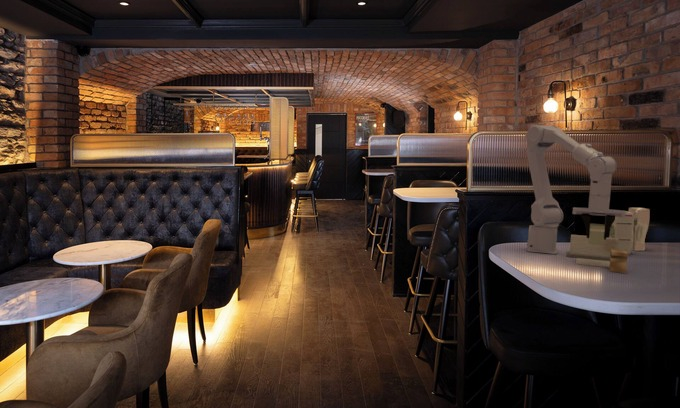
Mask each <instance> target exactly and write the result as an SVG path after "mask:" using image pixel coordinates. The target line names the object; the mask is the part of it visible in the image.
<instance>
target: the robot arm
mask: <svg viewBox="0 0 680 408" xmlns="http://www.w3.org/2000/svg"><path fill="white" fill-rule="evenodd" d="M525 139H526V143H527V144H526V156H527V161H528V167H529V172H530V177H531V182H532V187H533V192H534V197H535V201H534V202H533V203H532V204H531V206H530V208H531V213H530V219H531V222H532V223H533V225H532V224H531V225H529V227H528V234H527V235H528V236H527V241H526V246H527V248H526V249H527V250H526V251H527V252H531V253H543V254H551V255H557V254H558V248H557V239H558V237H557V236H558V227H560V224H561V223H562V222H563V220H564V212H563V210H562V208H561V207H560V204H559V201H557V200H556V199H555V198H554V197H553V193H552V188H551V183H550V178H549V177H550V176H549V174H548V168H547V164H546V163H547V162H546V158H545V153H546V152H547V151H548V150H549V149H550V148H552V146H553V145H555V144H556V145H559V146H560V147H562V148H564V149H566V150H567V151H569V152H571V153H572V158H573V159H574V160H575V161H577V162H578V163H580V164H581V165H583V166H584V167H586V168H587V169H586V170H587V171H588V173H589V179H590V183H589V184H590V185H589V195H588V196H589V197H588V207H572V215H581V218H582V221H583V225H584V228H585V232H586V233H585V234H586V236H587V238H589V227H590V224H591V216H598V217H599V216H601V217H602V216H603V217H605V218H604V226H605V232H604V239H605V240H606V238H608V237H607V236H608V233H609V232H610V227H611V225H612V224H613V222H614V221H615V217H623V218H625V211H626V210H621V209H610V202H611V191H612V190H611V189H612V177H613V174H614V173H615V172H616V170H617V161H616V160H615V158H614V157H612V156H609V155H608V156H607V155H604V153H603V152H602V151H598V150H597V149H594V148H593V147H592V146H593V145H592V144H591V143H579V142H577V141H576V140H575V139H573V138H572V137H571V136H570V135H568V134H567V133H565V132H564V131H563V130H562V128H560V127H558V126H556V125H555V124H554V125H551V124H550V125H544V124H543V125H542V124H533V125H531V126H530V127H528V130H527V132H526V134H525Z"/></svg>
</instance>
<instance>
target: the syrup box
mask: <svg viewBox="0 0 680 408" xmlns="http://www.w3.org/2000/svg"><path fill="white" fill-rule="evenodd" d="M624 211H625V218H623V217H615V221H614V222H613V224H612V225H611V227H610V229H609V236H608V238H618V240H619V242H618V250H622V251H626V252H627V253H628V254H627V255H631V251H632V250H631V241H632V227H633V213H630V212H628V211H627V210H624Z"/></svg>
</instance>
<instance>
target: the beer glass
mask: <svg viewBox="0 0 680 408" xmlns="http://www.w3.org/2000/svg"><path fill="white" fill-rule="evenodd" d="M650 210H651V209H650V208H645V207H628V212H630V213H633V227H632V241H631V251H634V252H645V251H646V245H645V239H646V235H647V232H648V230H649V225H650V220H651V219H650V216H651V215H650V212H651V211H650Z"/></svg>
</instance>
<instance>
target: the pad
mask: <svg viewBox="0 0 680 408" xmlns="http://www.w3.org/2000/svg"><path fill="white" fill-rule="evenodd" d="M575 260H576V262H575V263H576V265H580V266H581V265H582V266H592V267H600V268H601V267H602V268H609V266H610V261H604V260H594V259H584V258H576V259H575Z"/></svg>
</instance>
